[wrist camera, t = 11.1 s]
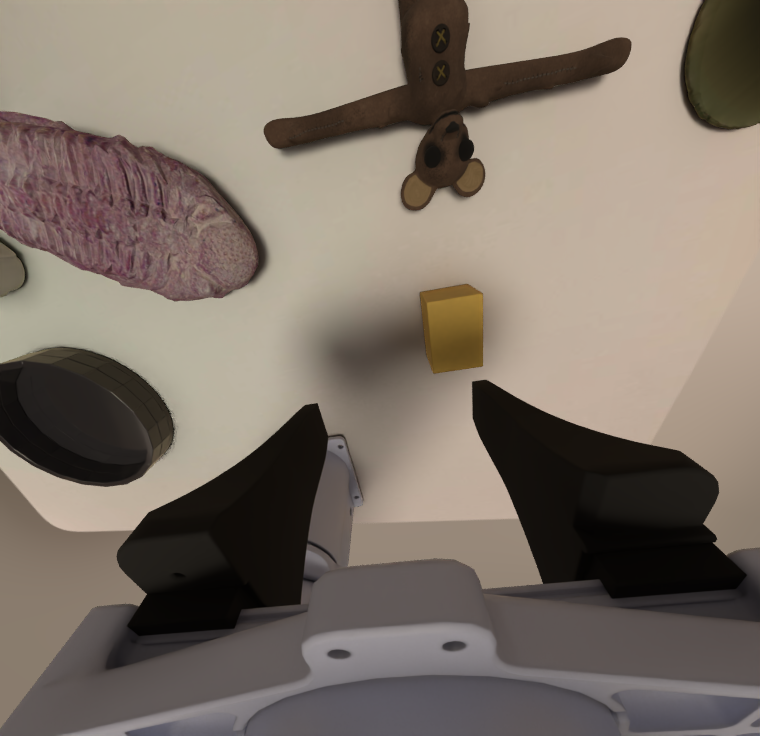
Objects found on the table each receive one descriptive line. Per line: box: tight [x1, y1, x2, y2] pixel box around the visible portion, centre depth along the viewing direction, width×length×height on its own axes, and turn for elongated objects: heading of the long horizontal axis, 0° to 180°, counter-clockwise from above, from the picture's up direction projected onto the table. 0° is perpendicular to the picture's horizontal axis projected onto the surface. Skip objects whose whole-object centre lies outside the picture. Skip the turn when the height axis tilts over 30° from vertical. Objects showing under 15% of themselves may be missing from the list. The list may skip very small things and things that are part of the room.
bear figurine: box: [264, 0, 631, 210], centre depth 12 cm, size 18×4×14 cm
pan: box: [0, 348, 173, 487], centre depth 23 cm, size 13×13×3 cm
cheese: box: [420, 284, 483, 374], centre depth 19 cm, size 5×3×3 cm
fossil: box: [0, 111, 259, 301], centre depth 15 cm, size 8×14×5 cm, turn 71°
